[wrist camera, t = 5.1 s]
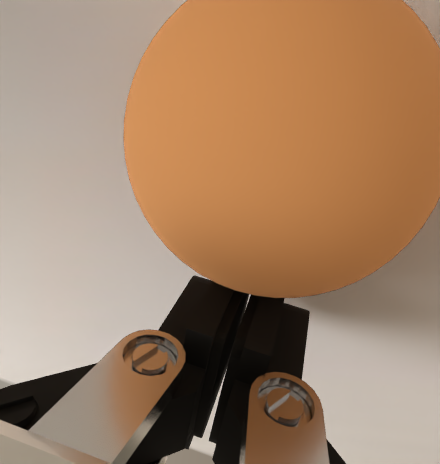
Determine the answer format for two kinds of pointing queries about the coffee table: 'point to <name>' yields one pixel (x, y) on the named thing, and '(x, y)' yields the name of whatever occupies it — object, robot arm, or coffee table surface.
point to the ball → (286, 139)
